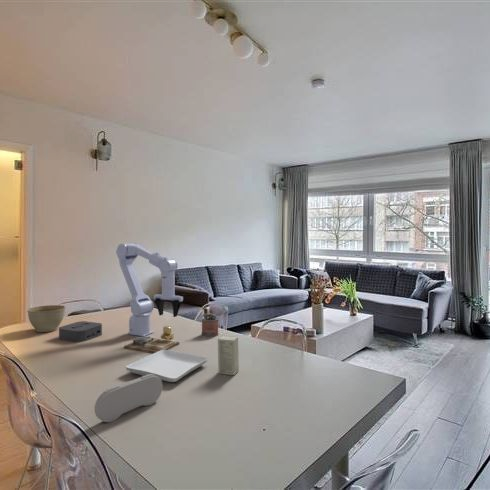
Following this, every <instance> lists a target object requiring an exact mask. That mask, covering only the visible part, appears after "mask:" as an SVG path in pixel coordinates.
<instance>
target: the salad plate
mask: <svg viewBox="0 0 490 490" xmlns="http://www.w3.org/2000/svg"><path fill="white" fill-rule="evenodd" d="M208 360H209V357H206V356H202V355H196V354H191V353H186V352H182V351H181V352H180V351H177V350H176V351H175V350H170V349H168V350H161V351H158V352H156V353H150V354H149V355H146V356H145V357H142V358H140V359H138V360H136V361H134V362H132V363H131V362H130V363H129V364H127V365H125V366H124V368H125V370H127V371H129V372H131V373H133V374H135V375H140V376H141V377H142V376H145V375H148V374H154V375H155V376H157V377H159V378H160V379H161V381H163V380H164V382H169V383H175V382H177V381H179V380H180V379H181V378H184V377H185V376H187V375H188V374H190V373H192V372H193V371H194V370H197V369H198V368H200V367H202V366H203V365H204V364H206V363H207V362H208Z"/></svg>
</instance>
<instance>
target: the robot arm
mask: <svg viewBox="0 0 490 490" xmlns="http://www.w3.org/2000/svg"><path fill="white" fill-rule="evenodd" d="M115 253H116V256H117V258H118V262H119V266H120V269H121V272H122V274H123V277H124V280H125V282H126V284H127V287H128V290H129V292H130V295H131V297H132V298H131V300H130V301H129V306H130V312H131V315H130V317H129V319H128V321H129V322H128V331H129V332H127V334H128V335H134V336H139V337H142V336H144V337H147V336H148V335H151V334H152V333H153V334H154V333H155V330H151V314H152V312H153V310H154V307H155V306H156V308H157V311H158V315H159V316H163V315H164V305H165V301H172V302H171V305H172V316H173V318H177V317H178V314H179V310H180V308H181V305H182V303H183V301H184V296H181V295H176V293H175V291H176V290H175V288H176V287H175V286H176V284H175V283H176V282H175V281H176V279H175V278H176V271H177V269H178V263H177V261H176V260H175V259H174V258H171V259H169V258H168V257H167V256H164V255H162V254H161V253H160V252H158V251H157V252H151V251H149V250H147V248H144V247H143V246H142V245H141V244H138V243H136V242H133V243H120V244H119V245H118V246H117V248H116V251H115ZM138 256H139V257H142V258H144V259H146V260H148V263H149V264H151V265H152V266H154V267H155V268H158V269H159V271H160V275H161V294H160V293H159V294H157V293H156V294H153V300H154V301H152V300H151V298H150V296H149V295H147V294H146V293H144V291H143V288H142V285H141V283H140V280H139V277H138V275H137V273H136V271H135V268H134V265H133V264H134V262H135V261H136V259H137V258H138ZM154 304H155V305H154Z"/></svg>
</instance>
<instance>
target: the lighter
mask: <svg viewBox="0 0 490 490" xmlns="http://www.w3.org/2000/svg"><path fill="white" fill-rule="evenodd" d="M202 317H203V318H201V335H202V336H206V337H207V336H209V337H210V336H211V337H215V336H216V337H217V336H219V319H218V318H217V314H213V313H203V314H202Z"/></svg>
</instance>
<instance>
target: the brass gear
mask: <svg viewBox="0 0 490 490" xmlns="http://www.w3.org/2000/svg"><path fill="white" fill-rule="evenodd" d="M162 328H163V329H162V334H160V339H167V340H173V339H174V333H172V326H170V325H168V326H167V325H165V326H163V327H162Z"/></svg>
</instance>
